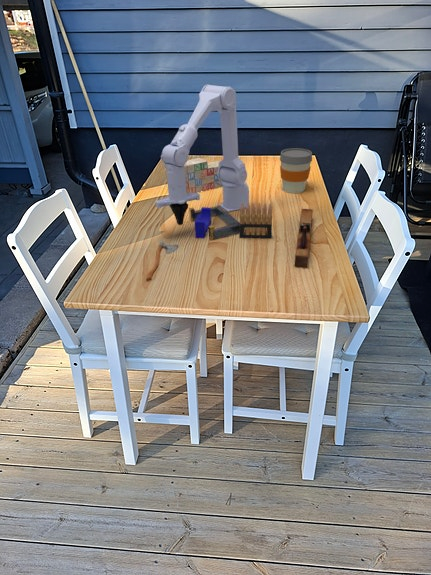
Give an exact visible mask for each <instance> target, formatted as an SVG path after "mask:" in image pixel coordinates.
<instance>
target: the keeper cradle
mask: <svg viewBox="0 0 431 575" xmlns="http://www.w3.org/2000/svg"><path fill="white" fill-rule="evenodd" d="M209 208H211V218H213V217H216V216H217V217H218V218H219V219H220V220H221V221H223V222H224V223H225V224H227V225H225V226H221V227H217V228H215V226H214V225H213V224H210V226H208V239H209V241H213V240H214V241H215V240H219V239H222V238H225V237H230V236H234V235H237V234H239V233H240V220H239V221H238V219H237V218H235V217H233V216H232V215H231V214H230V213H229V212H228V211H226V210H225V209H224V208H222V207H221V206H220V205H216V206H211V207H209ZM188 215H189V221H190V222H195V220H197V217H198V215H201V209H197V210H195V208H194V206H193V207H188Z"/></svg>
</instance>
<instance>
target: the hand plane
mask: <svg viewBox="0 0 431 575" xmlns="http://www.w3.org/2000/svg"><path fill="white" fill-rule="evenodd" d="M313 211H314V210H313V209H312V208H301V211H300V212H301V213H300V220H299V225H298V226H299V227H298V232H297V233H298V234H297V238H296V239H297V241H296V248H295V256H294V264H293V265H294V267H295V268H303V269H307V268H308V264H309V257H310V256H309V255H310V254H309V253H310V242H311V234H312V233H311V230H312V220H313V213H314V212H313Z"/></svg>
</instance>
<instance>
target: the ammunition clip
mask: <svg viewBox="0 0 431 575" xmlns="http://www.w3.org/2000/svg"><path fill="white" fill-rule="evenodd" d="M249 205H250V202H249V203H248V204H247V207H246V208H244V205H243V203H242V204H241V209H240V212H239V213H240V214H239V222H240V233H238V234H239V236H238V237H239V239H263V240H265V239H266V240H268V239H273V236H272V234H273V233H272V231H273V228H272V227H273V206H272V203H269V205H268V208H267V205H266V203H263V205H262V207H261V203H258V204H257V210H256V204H255V203H254V202H253V203H252V205H251V207H249Z"/></svg>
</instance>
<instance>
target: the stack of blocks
mask: <svg viewBox="0 0 431 575" xmlns="http://www.w3.org/2000/svg"><path fill="white" fill-rule="evenodd" d="M220 161H221V160H215V161H212V162H208V161H207V160H206V159H203V158H201V157H196V158H192V159H188V161H187V162H186V164H185V165H184V166H185V180H186V194H188V193H197V192H199V193H202V192H201V191H203V192H206V191H205V190H207V191H210V190H209V189H211V190H215V189H218V188H223V184H221V181H220V180H219V179H218V168H219V162H220Z"/></svg>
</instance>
